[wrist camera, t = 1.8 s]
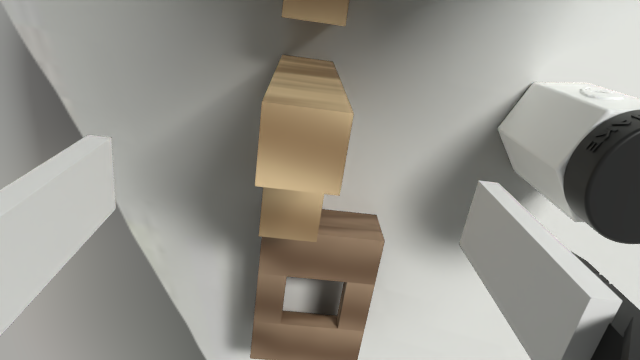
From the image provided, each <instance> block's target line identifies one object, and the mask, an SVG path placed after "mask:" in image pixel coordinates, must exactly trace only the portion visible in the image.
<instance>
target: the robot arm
mask: <svg viewBox="0 0 640 360" xmlns="http://www.w3.org/2000/svg"><path fill="white" fill-rule="evenodd" d="M115 209H116V204H115V187H114V170H113V153H112V137H103V136H95V135H87V136H86V137H84V138H83V139H81V140H79V141H78V142H76V143H75V144H73V145H71V146H70V147H68V148H67V149H65V150H63V151H62V152H60V153H59V154H57V155H55V156H54V157H52V158H51V159H49V160H47V161H46V162H44V163H43V164H41V165H39V166H38V167H36V168H34V169H33V170H31V171H30V172H28V173H26V174H25V175H23V176H22V177H20V178H18V179H17V180H15V181H14V182H12V183H10V184H9V185H7V186H6V187H4V188H2V189H1V190H0V336H1V335H2V334H3V333H4V332H5V330H6V329H7V328H8V327H9V326H10V325H11V324H12V323H13V322H14V321H15V319H16V318H17V317H18V316H19V315H20V314H21V313H22V312H23V310H24V309H25V308H26V307H27V306H28V305H29V304H30V303H31V302H32V301H33V299H34V298H35V297H36V296H37V295H38V294H39V293H40V292H41V291H42V290H43V288H44V287H45V286H46V285H47V284H48V283H49V282H50V281H51V280H52V278H53V277H54V276H55V275H56V274H57V273H58V272H59V271H60V270H61V269H62V268H63V266H64V265H65V264H66V263H67V262H68V261H69V260H70V259H71V258H72V256H73V255H74V254H75V253H76V252H77V251H78V250H79V249H80V248H81V247H82V245H83V244H84V243H85V242H86V241H87V240H88V239H89V238H90V236H92V234H93V233H94V232H95V231H96V230H97V229H98V228H99V227H100V226H101V224H102V223H103V222H104V221H105V220H106V219H107V218H108V217H109V216H110V215H111V213H112V212H113V211H114V210H115ZM459 245H460V247H461V249H462V250H463V252H464V253H465V255H466V257H467V258H468V260H469V261H470V263H471V265H472V266H473V268H474V269H475V271H476V272H477V274H478V276H479V277H480V279H481V280H482V282H483V284H484V285H485V287H486V288H487V290H488V292H489V293H490V295H491V296H492V298H493V300H494V301H495V303H496V304H497V306H498V308H499V309H500V311H501V312H502V314H503V315H504V317H505V319H506V320H507V322H508V323H509V325H510V327H511V328H512V330H513V331H514V333H515V335H516V336H517V338H518V339H519V341H520V343H521V344H522V346H523V347H524V349H525V351H526V352H527V354H528V355H529V357H530V358H531V360H640V310H639V309H638V308H637V307H636V306H635V305H634V304H633V303H632V302H630V301H629V300H628V299H627V298H626V297H625V296H624V295H623V294H622V293H621V292H620V291H619V290H618V289H616V288H615V287H614V286H613V285H612V284H609V281H608V280H607V279H606V278H605V277H603V276H602V275H599V272H598V271H597V270H596V269H595V268H594V267H593V266H592V265H591V264H589V263H588V262H587V261H586V260H584V259H582V258H581V257H579V256H578V255H576V254H574V253H573V252H571V251H570V250H569V249H568V248H566V247H565V246H564V245H563V244H562V243H561V242H560V241H559V240H558V239H557V238H556V237H555V236H554V235H553V234H552V233H551V232H550V231H549V230H547V229H546V228H545V227H544V226H543V225H542V224H541V223H540V222H539V221H538V220H537V219H536V218H535V217H534V216H533V215H532V214H531V213H530V212H529V211H527V210H526V209H525V208H524V207H523V206H522V205H521V204H520V203H519V202H518V201H517V200H516V199H515V198H514V197H513V196H512V195H511V194H510V193H509V192H507V191H506V190H505V189H504V188H503V187H502V186H501V185H500V184H499V183H496V182H487V181H479V180H478V184H477V187H476V190H475V193H474V197H473V200H472V203H471V206H470V209H469V213H468V216H467V219H466V222H465V226H464V229H463V232H462V235H461V239H460V242H459Z"/></svg>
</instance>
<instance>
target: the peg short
mask: <svg viewBox="0 0 640 360" xmlns="http://www.w3.org/2000/svg"><path fill="white" fill-rule="evenodd" d="M348 5H349V0H283V8H282V17H284V18H291V19H298V20H305V21H312V22H319V23H325V24H332V25H339V26H345V25H346V18H347V12H348Z"/></svg>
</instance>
